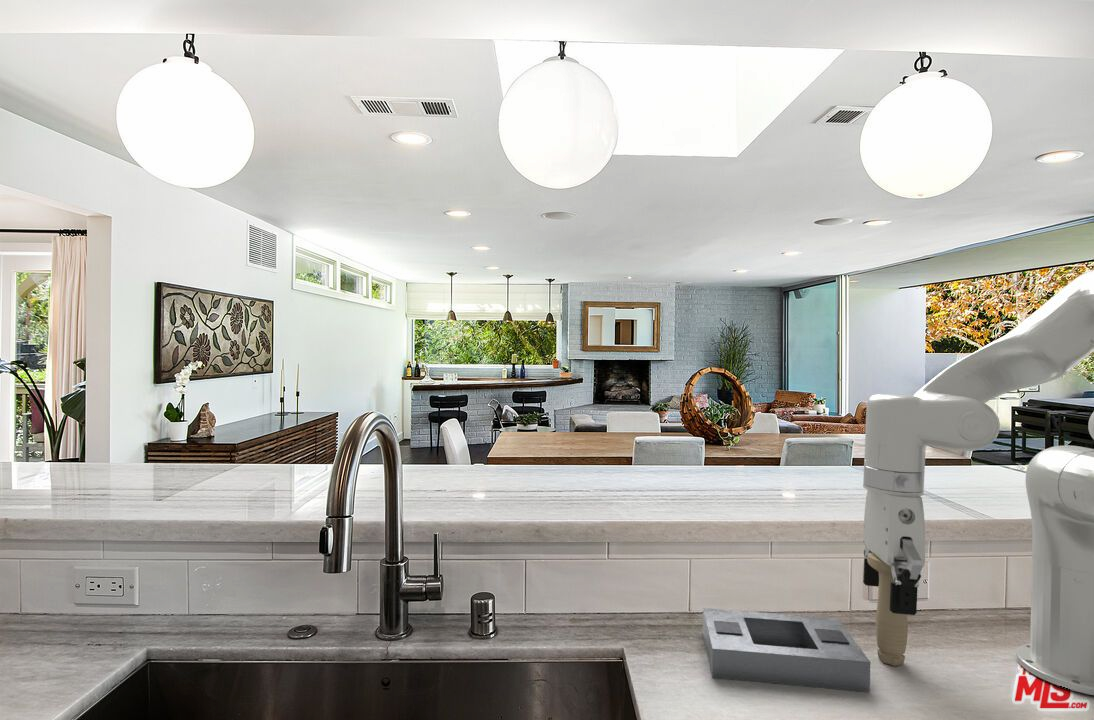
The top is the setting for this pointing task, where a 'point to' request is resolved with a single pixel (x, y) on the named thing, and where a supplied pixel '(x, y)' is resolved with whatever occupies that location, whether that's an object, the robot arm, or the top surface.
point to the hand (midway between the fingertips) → (888, 598)
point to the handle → (888, 617)
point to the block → (784, 650)
